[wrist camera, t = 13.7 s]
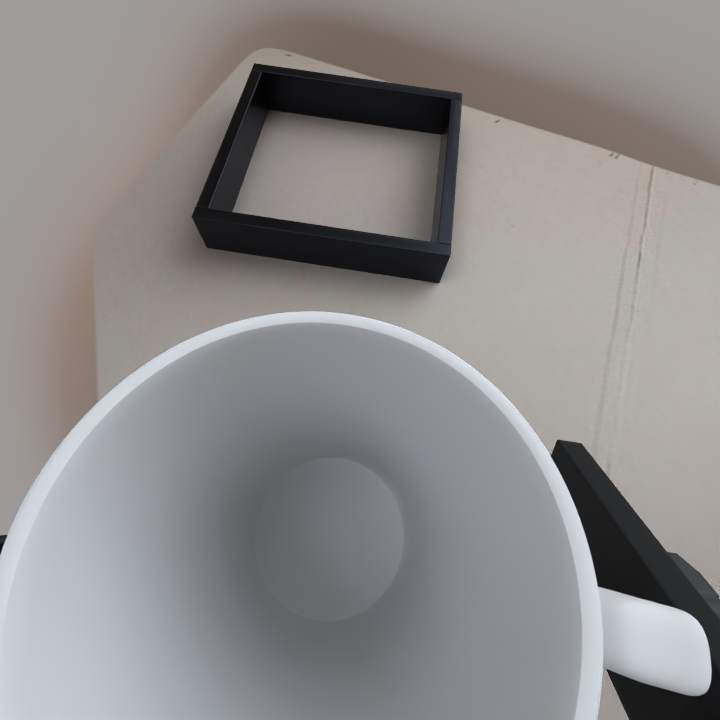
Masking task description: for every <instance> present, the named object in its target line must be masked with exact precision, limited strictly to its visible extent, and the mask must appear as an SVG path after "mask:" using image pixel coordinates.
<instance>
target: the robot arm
mask: <svg viewBox="0 0 720 720" xmlns="http://www.w3.org/2000/svg"><path fill="white" fill-rule="evenodd" d="M551 458H552V460H553V461H554V463H555V465H556V467H557V468H558V470H559V472H560V474H561V476H562V478H563V480H564V482H565V484H566V486H567V488H568V491H569V493H570V495H571V497H572V500H573V502H574V504H575V507H576V510H577V512H578V515H579V518H580V520H581V523H582V526H583V529H584V532H585V535H586V539H587V542H588V546H589V549H590V553H591V557H592V561H593V565H594V570H595V575H596V580H597V586H598V587H601V588H605V589H608V590H612V591H616V592H619V593H623V594H626V595H630V596H633V597H637V598H640V599H644V600H648V601H652V602H655V603H659V604H663V605H666V606H670V607H674V608H677V609H680V610H682V611H685V612H687V613H688V614H690V615H691V616H693V617H694V618H695V619H696V620H697V621H698V622H699V623H700V625H701V626H702V628H703V630H704V632H705V635H706V637H707V641H708V645H709V650H710V658H711V670H712V672H711V683H710V686H709V689H708V690H707V692H706V693H704V694H702V695H700V696H689V695H685V694H681V693H677V692H674V691H670V690H666V689H663V688H659V687H655V686H652V685H649V684H645V683H642V682H639V681H636V680H634V679H631V678H628V677H626V676H623V675H621V674H618V673H615V672H613V671H610V670H608V669H606V670H607V672H608V674H609V676H610V679H611V681H612V683H613V685H614V687H615V689H616V692H617V694H618V696H619V698H620V700H621V702H622V705H623V707H624V709H625V711H626V713H627V716H628V718H629V720H720V599H719V595H718V594H717V593H716V592H715V590H714V589H713V588H712V587H711V586H710V584H709V583H708V582H707V581H706V580H705V578H704V577H703V576H702V575H701V574H700V573H699V572H698V571H697V570H696V569H694V568H693V567H692V566H691V565H690V564H688V563H687V562H686V561H685V560H684V559H682V558H681V557H680V556H679V555H678V554H676V553H669V552H666V550H665V549H664V548H663V546H662V545H661V544H660V543H659V541H658V540H657V539H656V538H655V536H654V535H653V534H652V533H651V531H650V530H649V529H648V527H647V526H646V525H645V524H644V522H643V521H642V520H641V519H640V517H639V516H638V515H637V513H636V512H635V511H634V510H633V508H632V507H631V506H630V505H629V503H628V502H627V501H626V499H625V498H624V497H623V496H622V494H621V493H620V492H619V491H618V489H617V488H616V487H615V485H614V484H613V483H612V482H611V480H610V479H609V478H608V477H607V475H606V474H605V473H604V471H603V470H602V469H601V468H600V466H599V465H598V464H597V463H596V461H595V460H594V459H593V457H592V456H591V455H590V454H589V452H588V451H587V450H586V449H585V447H584V446H583V445H582V444H581V443H576V442H569V441H563V440H557V442H556V445H555V447H554V450H553V452H552V455H551ZM6 538H7V535H2V536H0V554H1V551H2V548H3V546H4V543H5V540H6Z"/></svg>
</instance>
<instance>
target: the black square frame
mask: <svg viewBox="0 0 720 720" xmlns="http://www.w3.org/2000/svg"><path fill="white" fill-rule="evenodd" d="M461 106H462V93H457V92H450V91H443V90H436V89H429V88H422V87H415V86H408V85H401V84H394V83H388V82H381V81H374V80H367V79H360V78H353V77H346V76H339V75H332V74H325V73H318V72H311V71H304V70H297V69H290V68H283V67H276V66H269V65H262V64H254V65H253V68H252V71H251V73H250V75H249V78H248V80H247V83H246V85H245V88H244V90H243V93H242V95H241V97H240V100H239V102H238V105H237V107H236V110H235V112H234V115H233V117H232V120H231V122H230V124H229V127H228V129H227V132H226V134H225V137H224V139H223V142H222V144H221V147H220V149H219V152H218V154H217V156H216V159H215V161H214V164H213V166H212V169H211V171H210V174H209V176H208V179H207V181H206V183H205V186H204V188H203V191H202V193H201V196H200V198H199V201H198V203H197V206H196V207H195V210H194V212H193V215H192V219H193V221H194V223H195V225H196V227H197V228H198V230H199V232H200V234H201V236H202V238H203V240H204V242H205V244H206V246H207V248H213V249H219V250H226V251H232V252H239V253H246V254H252V255H259V256H265V257H272V258H278V259H285V260H292V261H298V262H305V263H311V264H318V265H324V266H331V267H338V268H344V269H351V270H357V271H364V272H370V273H377V274H384V275H390V276H397V277H403V278H410V279H416V280H423V281H430V282H436V283H439V282H440V280H441V277H442V275H443V272H444V270H445V268H446V265H447V263H448V260H449V258H450V254H451V240H452V227H453V213H454V200H455V187H456V173H457V160H458V146H459V133H460V120H461ZM269 109H271V110H278V111H284V112H291V113H298V114H305V115H312V116H319V117H326V118H333V119H339V120H346V121H353V122H360V123H367V124H374V125H381V126H388V127H394V128H401V129H408V130H415V131H422V132H429V133H436V134H442V136H441V146H440V156H439V166H438V176H437V186H436V196H435V206H434V216H433V226H432V236H431V242H427V241H420V240H414V239H407V238H400V237H394V236H387V235H380V234H374V233H367V232H361V231H354V230H347V229H341V228H334V227H327V226H321V225H314V224H307V223H301V222H294V221H287V220H281V219H274V218H267V217H261V216H254V215H248V214H241V213H234V212H232V211H233V208H234V205H235V202H236V199H237V197H238V194H239V191H240V188H241V185H242V183H243V180H244V177H245V174H246V171H247V169H248V166H249V163H250V160H251V157H252V155H253V152H254V149H255V146H256V144H257V141H258V138H259V135H260V132H261V130H262V127H263V124H264V121H265V118H266V116H267V113H268V110H269Z"/></svg>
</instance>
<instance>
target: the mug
mask: <svg viewBox="0 0 720 720" xmlns="http://www.w3.org/2000/svg"><path fill="white" fill-rule="evenodd" d="M603 668H605V669H608V670H610V671H613V672H615V673H618V674H621V675H623V676H626V677H628V678H631V679H634V680H636V681H639V682H642V683H645V684H649V685H652V686H655V687H659V688H663V689H666V690H670V691H674V692H677V693H681V694H685V695H689V696H700V695H702V694H704V693H706V692H707V690H708V689H709V686H710V683H711V672H712V670H711V658H710V650H709V645H708V641H707V637H706V635H705V632H704V630H703V628H702V626H701V625H700V623H699V622H698V621H697V620H696V619H695V618H694V617H693V616H691V615H690V614H688V613H687V612H685V611H682V610H680V609H677V608H674V607H670V606H666V605H663V604H659V603H655V602H652V601H648V600H644V599H640V598H637V597H633V596H630V595H626V594H623V593H619V592H616V591H612V590H608V589H605V588H601V587H598V586H597V580H596V575H595V570H594V565H593V561H592V557H591V553H590V549H589V546H588V542H587V539H586V535H585V532H584V529H583V526H582V523H581V520H580V518H579V515H578V512H577V510H576V507H575V504H574V502H573V500H572V497H571V495H570V493H569V491H568V488H567V486H566V484H565V482H564V480H563V478H562V476H561V474H560V472H559V470H558V468H557V467H556V465H555V463H554V461H553V460H552V458H551V456H550V454H549V453H548V451H547V450H546V448H545V446H544V445H543V443H542V442H541V440H540V439H539V437H538V436H537V434H536V433H535V432H534V430H533V429H532V428H531V426H530V425H529V424H528V422H527V421H526V420H525V418H524V417H523V416H522V415H521V414H520V412H519V411H518V410H517V409H516V408H515V407H514V405H513V404H512V403H511V402H510V401H509V400H508V399H507V398H506V397H505V396H504V395H503V394H502V393H501V392H500V391H499V390H498V389H497V388H496V387H495V386H494V385H493V384H492V383H491V382H490V381H489V380H487V379H486V378H485V377H484V376H483V375H482V374H480V373H479V372H478V371H477V370H475V369H474V368H473V367H472V366H470V365H469V364H467V363H466V362H465V361H463V360H462V359H460V358H459V357H457V356H456V355H454V354H453V353H451V352H450V351H448V350H446V349H445V348H443V347H441V346H440V345H438V344H436V343H434V342H432V341H430V340H428V339H426V338H424V337H422V336H420V335H418V334H415V333H413V332H411V331H408V330H406V329H403V328H400V327H398V326H395V325H392V324H389V323H385V322H382V321H378V320H375V319H370V318H366V317H361V316H356V315H350V314H343V313H334V312H314V311H306V312H286V313H277V314H270V315H263V316H258V317H253V318H249V319H244V320H240V321H237V322H233V323H230V324H226V325H223V326H220V327H217V328H215V329H212V330H209V331H207V332H204V333H202V334H199V335H197V336H195V337H192V338H190V339H188V340H186V341H184V342H182V343H180V344H178V345H176V346H174V347H172V348H170V349H169V350H167V351H165V352H163V353H162V354H160V355H158V356H157V357H155V358H154V359H152V360H150V361H149V362H147V363H146V364H144V365H143V366H142V367H140V368H139V369H137V370H136V371H134V372H133V373H132V374H130V375H129V376H128V377H126V378H125V379H124V380H123V381H121V382H120V383H119V384H118V385H117V386H115V387H114V388H113V389H112V390H111V391H110V392H108V393H107V394H106V395H105V396H104V397H103V398H102V399H101V400H100V401H99V402H98V403H97V404H96V405H95V406H94V407H93V408H92V409H91V410H90V411H89V412H88V413H87V414H86V415H85V416H84V417H83V418H82V419H81V420H80V421H79V422H78V423H77V424H76V426H75V427H74V428H73V429H72V430H71V431H70V433H69V434H68V435H67V436H66V437H65V439H64V440H63V441H62V443H61V444H60V445H59V446H58V448H57V449H56V450H55V452H54V453H53V454H52V456H51V457H50V459H49V460H48V461H47V463H46V464H45V466H44V467H43V469H42V470H41V472H40V473H39V475H38V476H37V478H36V480H35V481H34V483H33V485H32V486H31V488H30V490H29V491H28V493H27V495H26V497H25V499H24V500H23V502H22V504H21V506H20V508H19V510H18V512H17V515H16V517H15V519H14V521H13V523H12V526H11V528H10V531H9V533H8V535H7V538H6V540H5V543H4V546H3V548H2V551H1V554H0V720H597V718H598V712H599V705H600V698H601V688H602V677H603Z"/></svg>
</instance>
